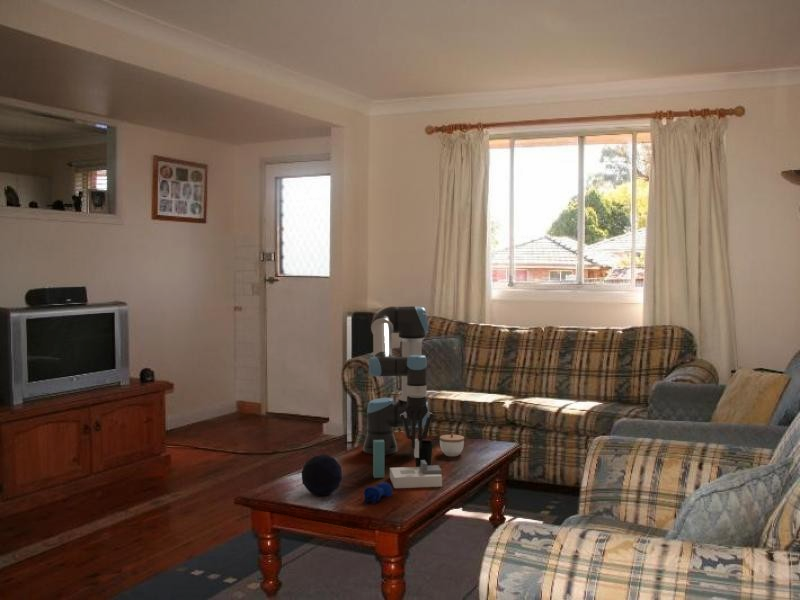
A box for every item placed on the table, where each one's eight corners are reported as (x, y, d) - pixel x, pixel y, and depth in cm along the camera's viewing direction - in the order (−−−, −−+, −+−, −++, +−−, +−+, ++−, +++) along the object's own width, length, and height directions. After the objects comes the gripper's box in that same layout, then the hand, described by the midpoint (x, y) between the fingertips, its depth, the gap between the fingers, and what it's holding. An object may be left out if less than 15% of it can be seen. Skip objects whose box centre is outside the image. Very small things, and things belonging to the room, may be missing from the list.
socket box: (389, 477, 307) (389, 467, 307) (435, 476, 309) (435, 466, 309) (394, 488, 293) (394, 477, 293) (441, 486, 295) (442, 476, 295)
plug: (373, 475, 311) (373, 440, 310) (383, 474, 311) (383, 439, 311) (374, 477, 307) (374, 442, 306) (384, 477, 307) (384, 442, 307)
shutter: (419, 468, 305) (419, 459, 304) (438, 468, 306) (438, 459, 305) (422, 473, 298) (422, 464, 297) (441, 473, 299) (441, 463, 298)
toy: (378, 507, 273) (396, 494, 286) (377, 490, 272) (396, 477, 286) (360, 505, 275) (379, 491, 289) (360, 487, 275) (379, 475, 288)
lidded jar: (463, 458, 338) (463, 436, 337) (438, 457, 339) (438, 435, 339) (465, 452, 348) (465, 431, 348) (440, 451, 350) (441, 430, 349)
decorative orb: (316, 470, 297) (304, 444, 288) (352, 474, 292) (341, 448, 283) (302, 501, 287) (289, 475, 278) (339, 506, 282) (327, 480, 273)
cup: (431, 475, 311) (431, 445, 310) (412, 473, 313) (412, 444, 312) (434, 469, 319) (434, 440, 318) (415, 468, 320) (415, 439, 319)
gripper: (401, 398, 295) (401, 459, 296) (435, 397, 297) (435, 458, 298) (398, 394, 302) (398, 454, 304) (431, 393, 304) (431, 453, 306)
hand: (416, 456), depth 301 cm, fingers closed
